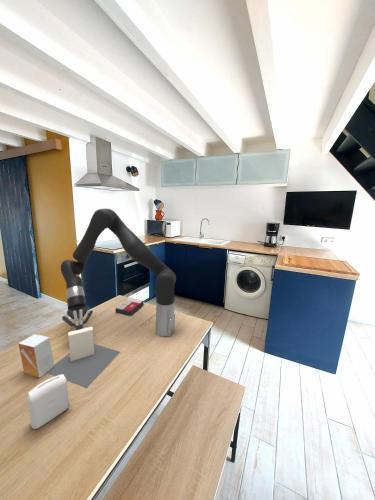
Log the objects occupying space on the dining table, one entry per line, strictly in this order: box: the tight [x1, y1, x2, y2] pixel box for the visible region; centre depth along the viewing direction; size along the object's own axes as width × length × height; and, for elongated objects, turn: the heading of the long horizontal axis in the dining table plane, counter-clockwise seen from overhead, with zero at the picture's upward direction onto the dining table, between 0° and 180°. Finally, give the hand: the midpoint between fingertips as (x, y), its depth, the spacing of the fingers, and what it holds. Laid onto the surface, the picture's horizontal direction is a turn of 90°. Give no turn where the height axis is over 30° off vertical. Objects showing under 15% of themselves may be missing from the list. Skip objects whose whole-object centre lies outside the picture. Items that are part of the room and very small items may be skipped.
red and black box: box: [114, 297, 145, 317], centre depth 131 cm, size 11×4×15 cm
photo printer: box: [26, 374, 70, 430], centre depth 63 cm, size 10×4×12 cm, turn 140°
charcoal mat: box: [45, 343, 121, 389], centre depth 86 cm, size 20×20×1 cm
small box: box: [17, 333, 55, 379], centre depth 79 cm, size 8×6×13 cm
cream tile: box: [67, 326, 95, 361], centre depth 88 cm, size 2×9×12 cm, turn 122°
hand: (80, 334), depth 91 cm, fingers closed
